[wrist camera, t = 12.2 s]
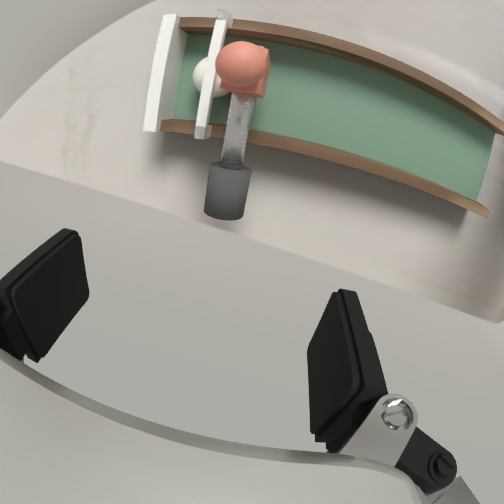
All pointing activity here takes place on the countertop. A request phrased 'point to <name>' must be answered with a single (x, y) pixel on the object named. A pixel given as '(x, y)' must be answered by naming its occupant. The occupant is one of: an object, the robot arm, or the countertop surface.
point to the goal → (169, 73)
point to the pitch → (349, 110)
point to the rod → (236, 126)
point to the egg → (199, 76)
